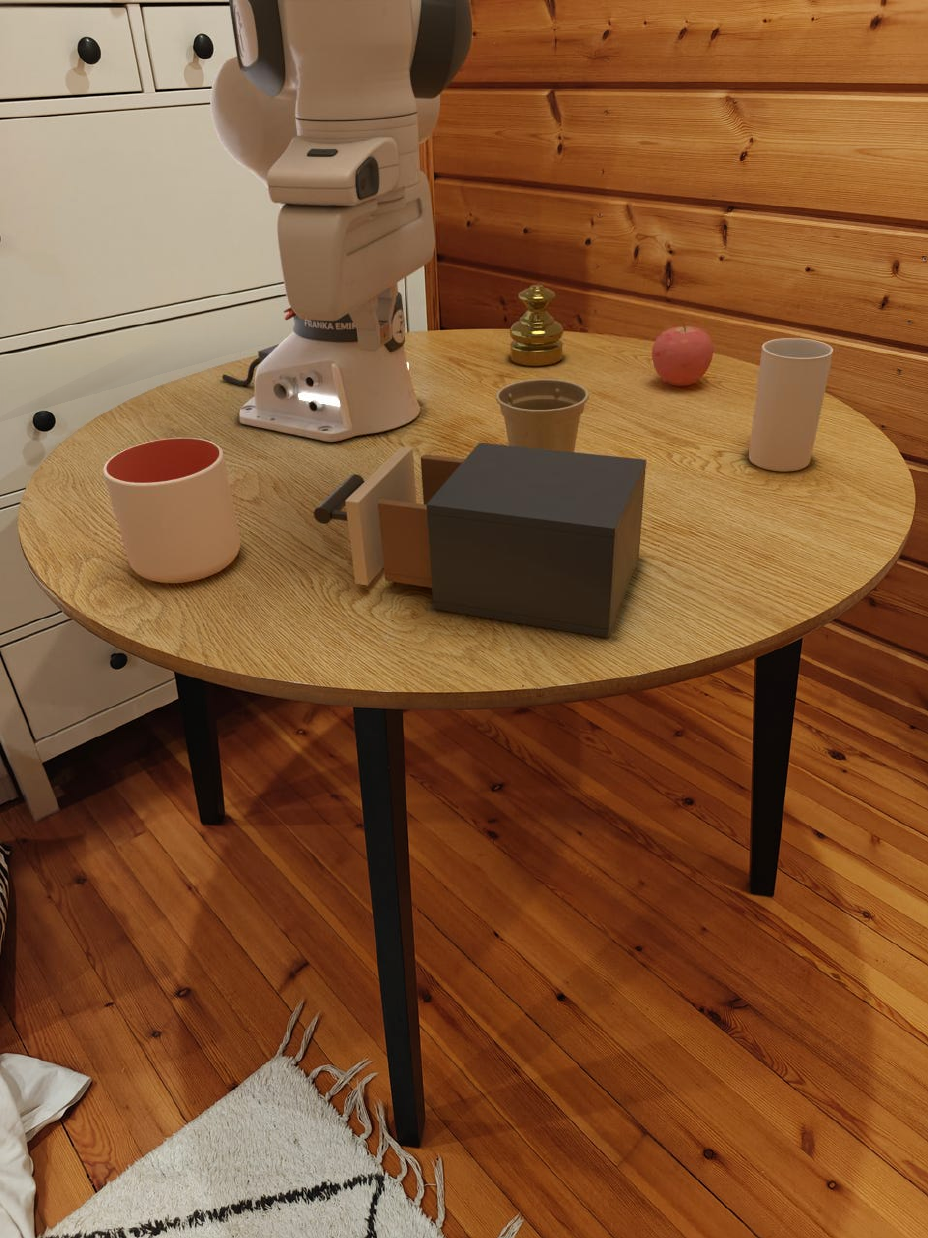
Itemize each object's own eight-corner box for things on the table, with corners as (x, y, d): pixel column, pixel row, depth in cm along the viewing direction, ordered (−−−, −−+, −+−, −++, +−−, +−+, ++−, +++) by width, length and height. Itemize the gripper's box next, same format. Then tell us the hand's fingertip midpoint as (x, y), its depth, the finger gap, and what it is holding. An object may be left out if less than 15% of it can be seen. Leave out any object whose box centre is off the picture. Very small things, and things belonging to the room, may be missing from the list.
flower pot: (484, 485, 94) (482, 405, 89) (512, 450, 101) (511, 375, 96) (573, 496, 91) (575, 414, 86) (594, 459, 98) (598, 382, 93)
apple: (676, 398, 113) (683, 333, 108) (639, 382, 118) (643, 320, 114) (721, 386, 116) (729, 323, 111) (682, 371, 121) (688, 310, 117)
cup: (144, 539, 87) (118, 441, 81) (248, 531, 87) (230, 433, 82) (119, 593, 78) (89, 488, 73) (235, 585, 79) (214, 479, 73)
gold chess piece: (511, 351, 131) (511, 279, 126) (562, 350, 131) (564, 278, 125) (508, 367, 125) (507, 293, 120) (562, 367, 124) (564, 292, 119)
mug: (821, 471, 93) (844, 356, 87) (757, 475, 93) (775, 359, 87) (788, 434, 102) (806, 327, 95) (729, 437, 102) (743, 330, 95)
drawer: (308, 576, 78) (296, 494, 73) (364, 517, 87) (356, 441, 82) (507, 608, 72) (505, 521, 68) (544, 542, 81) (545, 461, 77)
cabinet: (433, 609, 74) (426, 504, 69) (482, 539, 84) (479, 442, 79) (608, 638, 70) (615, 528, 65) (638, 560, 80) (646, 459, 74)
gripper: (379, 140, 76) (391, 308, 83) (252, 180, 60) (282, 382, 68) (449, 141, 74) (455, 313, 82) (337, 182, 58) (358, 390, 66)
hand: (376, 345), depth 74 cm, fingers closed
